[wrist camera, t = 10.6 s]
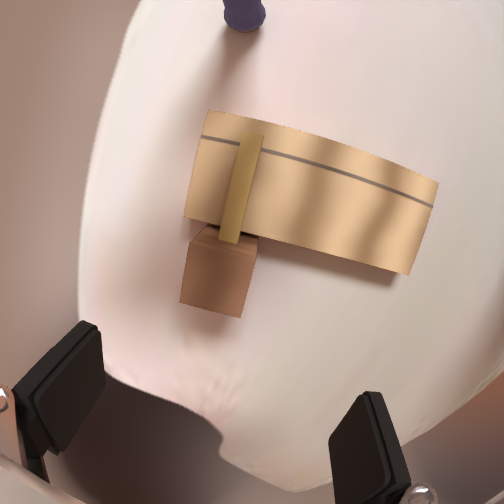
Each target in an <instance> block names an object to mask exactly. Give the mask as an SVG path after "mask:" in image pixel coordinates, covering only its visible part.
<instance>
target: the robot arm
mask: <svg viewBox="0 0 504 504" xmlns="http://www.w3.org/2000/svg"><path fill="white" fill-rule="evenodd" d="M105 385H106V380H105V372H104V363H103V352H102V340H101V332H100V331H98V328H97V326H96V325H93V324H91V323H89V322H86V321H84V320H82V321H80V322H79V323H78V324H77V325H76V326H75V327H74V328H73V329H72V330H71V331H70V332H69V333H68V334H67V335H66V336H64V337H63V338H62V339H61V341H59V342H58V343H57V344H56V345H55V346H54V347H53V348H51V349H50V350H49V351H48V352H47V353H46V354H45V355H44V356H43V357H42V358H41V359H40V360H39V361H38V362H37V363H36V364H35V365H34V366H33V367H32V368H31V369H30V370H29V371H28V373H27V374H26V375H25V376H24V377H23V378H22V379H21V380H20V381H19V382H18V383H17V384H16V385H15V386H14V388H13V389H12V390H10V389H9V388H8V387H7V386H5V385H3V384H0V504H85V503H83V502H81V501H79V500H77V499H76V498H74V497H72V496H70V495H68V494H66V493H64V492H63V491H61V490H59V489H57V488H56V487H54V486H52V485H51V484H50V481H49V477H48V474H47V470H46V466H45V462H44V458H43V455H44V454H45V452H46V451H47V450H49V451H50V452H52V453H53V454H55V455H58V454H59V452H60V451H62V452H63V451H65V450H66V448H67V447H68V445H69V444H70V442H71V440H72V439H73V437H74V435H75V433H76V432H77V431H78V429H79V427H80V426H81V424H82V422H83V421H84V420H85V418H86V417H87V415H88V413H89V412H90V410H91V409H92V407H93V406H94V404H95V403H96V401H97V400H98V398H99V396H100V395H101V394H102V392H103V390H104V388H105ZM328 445H329V453H330V461H331V469H332V477H333V486H334V495H335V504H437V495H436V493H435V491H434V490H433V488H432V487H430V486H429V485H427V484H424V483H416V484H413V485H411V478H410V475H409V472H408V468H407V465H406V462H405V459H404V456H403V453H402V450H401V447H400V444H399V441H398V438H397V435H396V432H395V429H394V426H393V423H392V421H391V418H390V415H389V412H388V410H387V407H386V404H385V402H384V399H383V396H382V394H381V393H380V392H370V391H365V392H364V393H363V394H362V395H359V396H358V397H357V399H356V400H355V402H354V403H353V405H352V406H351V408H350V409H349V411H348V412H347V414H346V415H345V416H344V418H343V419H342V421H341V422H340V423H339V425H338V426H337V428H336V429H335V430H334V432H333V433H332V434H331V436H330V438H329V442H328Z"/></svg>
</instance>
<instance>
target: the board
mask: <svg viewBox="0 0 504 504" xmlns="http://www.w3.org/2000/svg"><path fill="white" fill-rule="evenodd" d="M243 130H244V131H249V132H253V133H257V134H262V135H264V139H263V143H262V147H261V151H260V155H259V158H258V162H257V166H256V170H255V174H254V178H253V183H252V187H251V191H250V195H249V199H248V203H247V207H246V211H245V215H244V219H243V223H242V228H241V231H243V232H247V233H251V234H255V235H259V236H263V237H267V238H270V239H274V240H278V241H282V242H286V243H290V244H294V245H297V246H301V247H305V248H309V249H313V250H317V251H320V252H324V253H328V254H332V255H335V256H339V257H343V258H346V259H350V260H354V261H358V262H361V263H365V264H369V265H372V266H376V267H379V268H383V269H387V270H390V271H394V272H397V273H401V274H405V275H408V276H409V274H410V271H411V268H412V266H413V263H414V261H415V258H416V255H417V253H418V250H419V247H420V244H421V241H422V238H423V236H424V233H425V230H426V226H427V223H428V220H429V217H430V214H431V210H432V208H433V204H434V200H435V196H436V193H437V189H438V185H439V183H438V182H436V181H434V180H432V179H429V178H427V177H425V176H423V175H421V174H419V173H416V172H414V171H412V170H410V169H407V168H405V167H403V166H400V165H398V164H395V163H393V162H391V161H388V160H386V159H383V158H381V157H378V156H375V155H373V154H370V153H367V152H365V151H362V150H359V149H356V148H354V147H351V146H348V145H345V144H342V143H339V142H336V141H333V140H330V139H327V138H323V137H320V136H317V135H314V134H310V133H307V132H303V131H300V130H296V129H293V128H289V127H285V126H281V125H278V124H274V123H270V122H265V121H261V120H257V119H252V118H248V117H243V116H238V115H233V114H228V113H223V112H218V111H212V110H208V112H207V116H206V119H205V123H204V127H203V131H202V135H201V139H200V143H199V148H198V152H197V156H196V160H195V165H194V169H193V174H192V178H191V183H190V188H189V193H188V198H187V203H186V208H185V213H184V217H186V218H190V219H194V220H198V221H203V222H207V223H211V224H215V225H219V226H221V222H222V218H223V214H224V209H225V205H226V200H227V196H228V192H229V187H230V183H231V179H232V175H233V170H234V166H235V162H236V158H237V154H238V150H239V146H240V142H241V138H242V134H243Z"/></svg>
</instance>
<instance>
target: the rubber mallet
mask: <svg viewBox="0 0 504 504" xmlns="http://www.w3.org/2000/svg"><path fill="white" fill-rule="evenodd" d="M223 3H224V6H225V10H224V19H225V21H226V23H227V24H228V26H229V27H231V28H232V29H234V30H238V31H241V32H250V31H253V30H255V29H257V28H258V27H259V26H261V25H262V24H263V21H264V19H265V17H266V14H265V8H264V6H263V5H262V3H261V0H223Z"/></svg>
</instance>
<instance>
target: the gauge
mask: <svg viewBox="0 0 504 504" xmlns="http://www.w3.org/2000/svg"><path fill="white" fill-rule="evenodd" d="M263 139H264V135H262V134H257V133H253V132H249V131H244V130H243V134H242V138H241V142H240V146H239V150H238V154H237V158H236V162H235V166H234V170H233V175H232V179H231V183H230V187H229V192H228V196H227V200H226V205H225V209H224V214H223V218H222V222H221V226H219V225H215V224H211V223H208V224H207V226H206V227H205V228H204V229H203V230H202V231H201V232H200V233H199V234H198V235H197V236H196V237H195V238H194V239H193V240H192V241H191V242H190V243H189V247H188V253H187V259H186V265H185V271H184V277H183V283H182V290H181V296H180V303H184V304H188V305H191V306H195V307H199V308H202V309H206V310H210V311H214V312H218V313H222V314H226V315H230V316H234V317H238V318H241V314H242V310H243V306H244V303H245V299H246V295H247V291H248V287H249V284H250V280H251V276H252V272H253V269H254V265H255V261H256V254H257V246H258V238H259V235H255V234H251V233H247V232H243V231H241V228H242V223H243V219H244V215H245V211H246V207H247V203H248V199H249V195H250V191H251V187H252V183H253V178H254V174H255V170H256V166H257V162H258V158H259V155H260V151H261V147H262V143H263Z"/></svg>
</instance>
